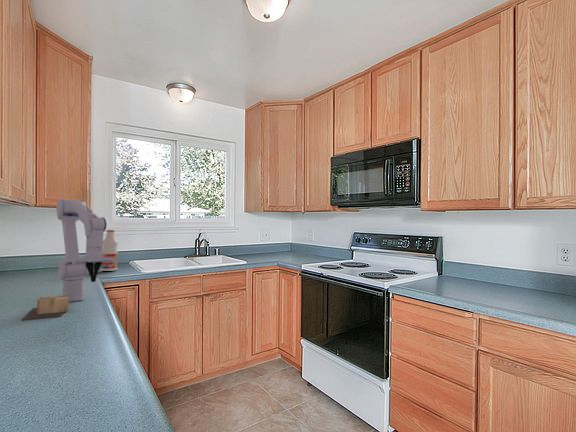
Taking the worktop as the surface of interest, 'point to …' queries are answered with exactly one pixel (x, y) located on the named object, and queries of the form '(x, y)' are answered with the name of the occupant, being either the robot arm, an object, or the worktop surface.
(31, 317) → the rubber mat
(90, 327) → the worktop surface
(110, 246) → the fruit juice
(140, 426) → the worktop surface
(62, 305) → the maple block
